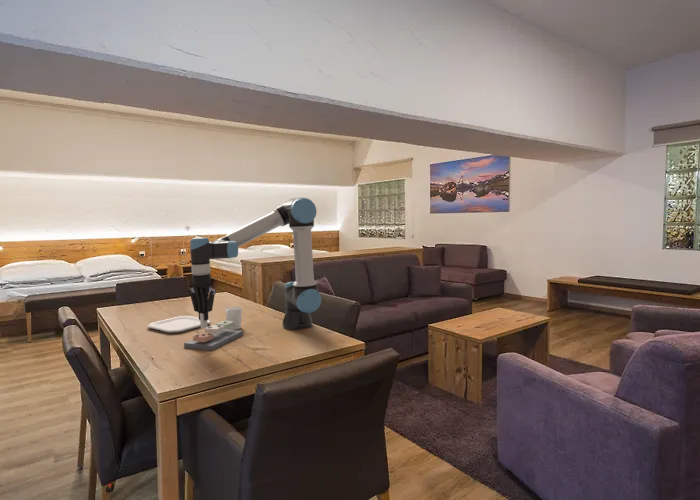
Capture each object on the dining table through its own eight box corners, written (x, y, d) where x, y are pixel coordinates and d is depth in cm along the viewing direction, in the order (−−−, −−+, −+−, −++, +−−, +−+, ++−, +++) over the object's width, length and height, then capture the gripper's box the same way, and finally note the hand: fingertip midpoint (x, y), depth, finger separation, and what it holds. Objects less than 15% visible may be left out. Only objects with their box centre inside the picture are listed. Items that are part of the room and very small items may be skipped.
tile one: (234, 325, 196) (234, 320, 196) (227, 328, 190) (226, 324, 190) (223, 324, 198) (223, 319, 198) (215, 327, 192) (215, 323, 192)
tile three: (213, 338, 181) (213, 333, 181) (204, 342, 175) (204, 337, 175) (202, 337, 183) (202, 332, 183) (193, 341, 177) (192, 335, 177)
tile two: (224, 330, 188) (224, 325, 188) (216, 333, 183) (216, 328, 183) (213, 329, 190) (213, 324, 190) (204, 332, 185) (204, 327, 184)
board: (243, 334, 196) (243, 330, 196) (211, 350, 173) (211, 345, 173) (218, 332, 200) (217, 328, 200) (184, 347, 178) (183, 342, 178)
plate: (173, 336, 195) (173, 331, 195) (142, 329, 208) (142, 324, 208) (215, 324, 216) (215, 320, 216) (185, 318, 229) (185, 314, 229)
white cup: (237, 330, 203) (237, 310, 203) (222, 329, 205) (222, 310, 204) (244, 326, 211) (244, 307, 210) (230, 325, 213) (230, 306, 212)
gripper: (219, 272, 178) (222, 326, 180) (194, 272, 182) (197, 324, 184) (208, 275, 171) (211, 331, 173) (182, 274, 175) (185, 328, 177)
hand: (204, 327), depth 179 cm, fingers closed
